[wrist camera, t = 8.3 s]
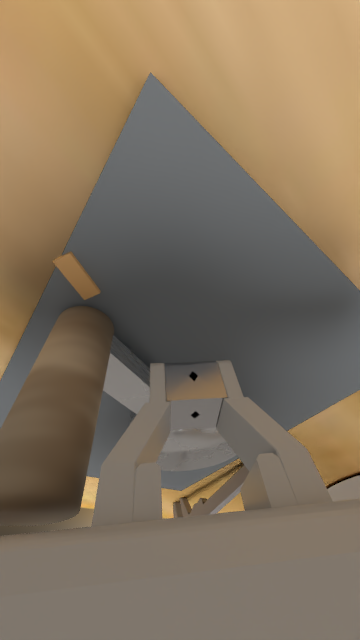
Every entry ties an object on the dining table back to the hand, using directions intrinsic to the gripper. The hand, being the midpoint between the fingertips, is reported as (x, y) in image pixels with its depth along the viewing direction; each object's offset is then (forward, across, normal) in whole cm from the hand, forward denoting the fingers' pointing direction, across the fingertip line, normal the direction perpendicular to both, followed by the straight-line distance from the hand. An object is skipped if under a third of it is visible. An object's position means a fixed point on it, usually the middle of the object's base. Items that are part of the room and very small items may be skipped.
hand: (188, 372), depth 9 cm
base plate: (+6, 0, +8) cm, 10 cm away
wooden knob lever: (+3, +1, +6) cm, 7 cm away
